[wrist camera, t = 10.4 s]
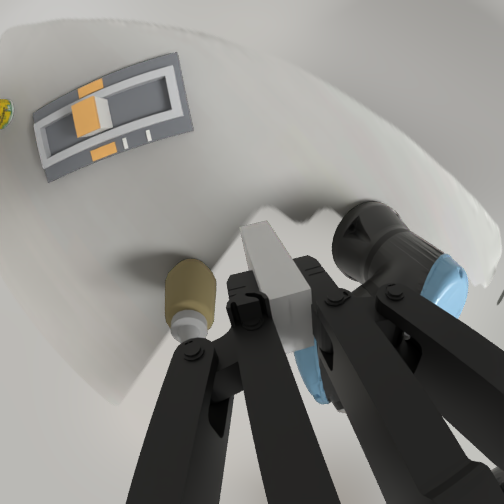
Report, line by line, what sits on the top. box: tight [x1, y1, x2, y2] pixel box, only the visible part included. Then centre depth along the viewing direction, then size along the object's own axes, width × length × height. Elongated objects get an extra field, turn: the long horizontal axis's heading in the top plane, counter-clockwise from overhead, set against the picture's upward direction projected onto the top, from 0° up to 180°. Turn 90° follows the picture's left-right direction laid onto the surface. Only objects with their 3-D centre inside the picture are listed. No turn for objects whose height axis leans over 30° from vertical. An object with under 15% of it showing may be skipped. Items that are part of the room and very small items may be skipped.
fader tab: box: [71, 96, 113, 138], centre depth 27 cm, size 3×4×5 cm
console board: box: [33, 52, 194, 183], centre depth 30 cm, size 24×12×4 cm, turn 101°
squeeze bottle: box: [165, 259, 216, 343], centre depth 36 cm, size 8×8×18 cm
